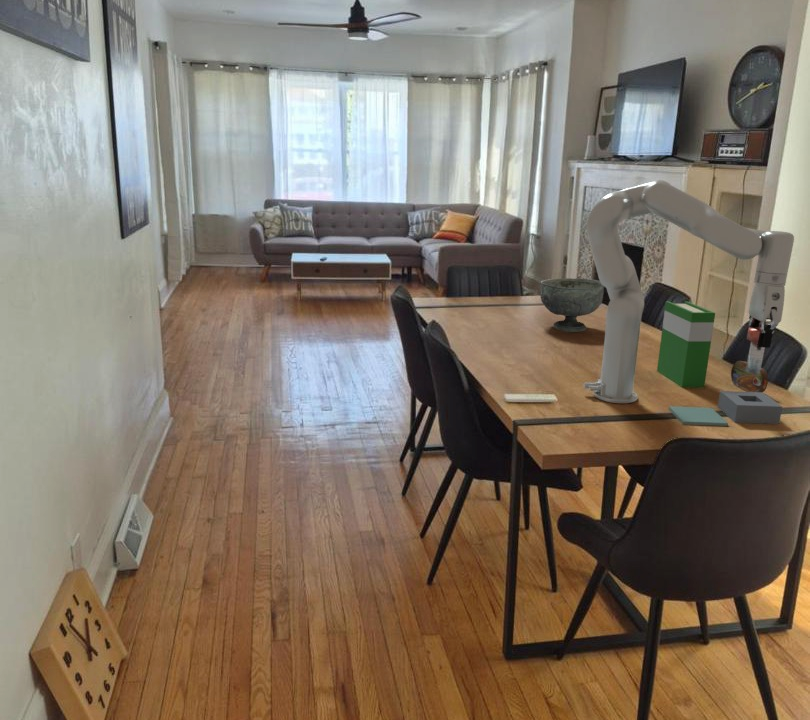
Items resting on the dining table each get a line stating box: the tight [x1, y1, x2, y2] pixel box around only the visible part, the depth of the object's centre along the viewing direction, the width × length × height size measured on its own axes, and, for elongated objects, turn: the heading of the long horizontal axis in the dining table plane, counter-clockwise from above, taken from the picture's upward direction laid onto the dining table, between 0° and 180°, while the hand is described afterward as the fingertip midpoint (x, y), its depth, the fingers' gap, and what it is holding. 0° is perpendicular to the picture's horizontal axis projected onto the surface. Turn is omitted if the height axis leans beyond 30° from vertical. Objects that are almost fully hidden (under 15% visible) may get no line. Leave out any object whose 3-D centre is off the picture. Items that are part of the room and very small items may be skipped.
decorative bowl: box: [539, 277, 605, 333], centre depth 292 cm, size 26×26×20 cm
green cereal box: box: [656, 300, 716, 389], centre depth 226 cm, size 18×7×24 cm, turn 6°
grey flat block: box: [717, 390, 783, 425], centre depth 197 cm, size 12×12×5 cm
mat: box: [668, 405, 729, 427], centre depth 195 cm, size 12×12×1 cm
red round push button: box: [746, 326, 766, 374], centre depth 192 cm, size 6×6×12 cm
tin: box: [730, 360, 769, 393], centre depth 219 cm, size 15×3×8 cm, turn 9°
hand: (758, 343), depth 192 cm, fingers closed on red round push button, 6 cm apart
